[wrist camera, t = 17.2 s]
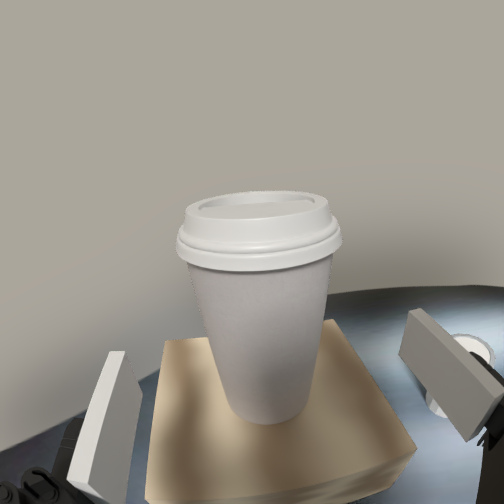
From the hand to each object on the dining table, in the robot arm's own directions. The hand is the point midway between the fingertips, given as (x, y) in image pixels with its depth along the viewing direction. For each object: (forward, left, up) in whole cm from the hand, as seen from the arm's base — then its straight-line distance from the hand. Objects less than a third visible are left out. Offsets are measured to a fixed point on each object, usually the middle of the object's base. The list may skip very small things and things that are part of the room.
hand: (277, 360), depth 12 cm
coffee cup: (0, -7, -9) cm, 12 cm away
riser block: (0, -7, -16) cm, 18 cm away
